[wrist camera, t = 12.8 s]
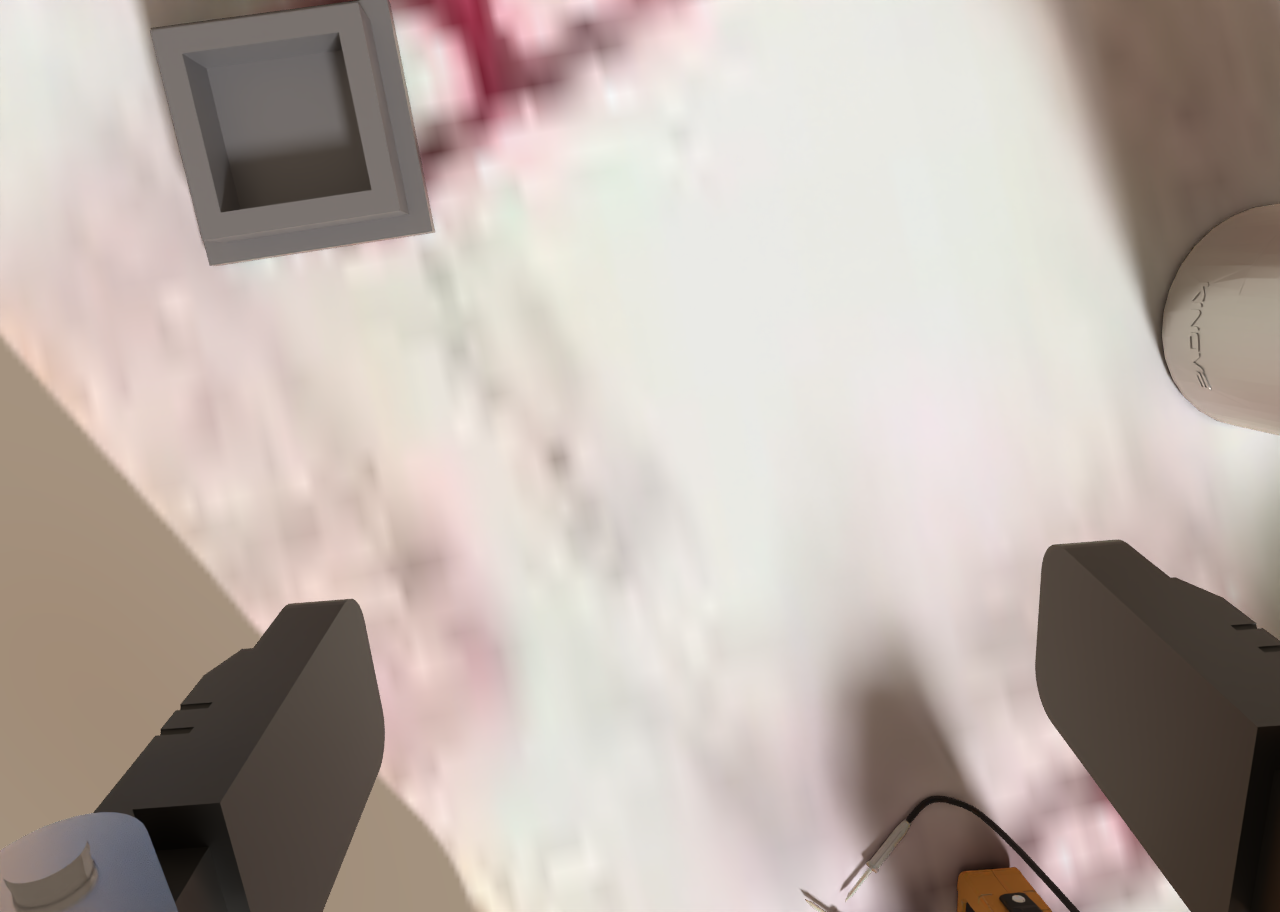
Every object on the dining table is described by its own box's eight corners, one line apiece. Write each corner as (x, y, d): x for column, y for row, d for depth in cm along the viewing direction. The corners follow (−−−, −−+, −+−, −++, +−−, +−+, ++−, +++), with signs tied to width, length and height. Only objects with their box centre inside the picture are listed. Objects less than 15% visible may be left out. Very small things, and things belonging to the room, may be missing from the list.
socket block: (390, 3, 32) (374, -24, 29) (435, 232, 34) (424, 228, 31) (160, 34, 32) (121, 10, 29) (217, 265, 33) (186, 265, 31)
